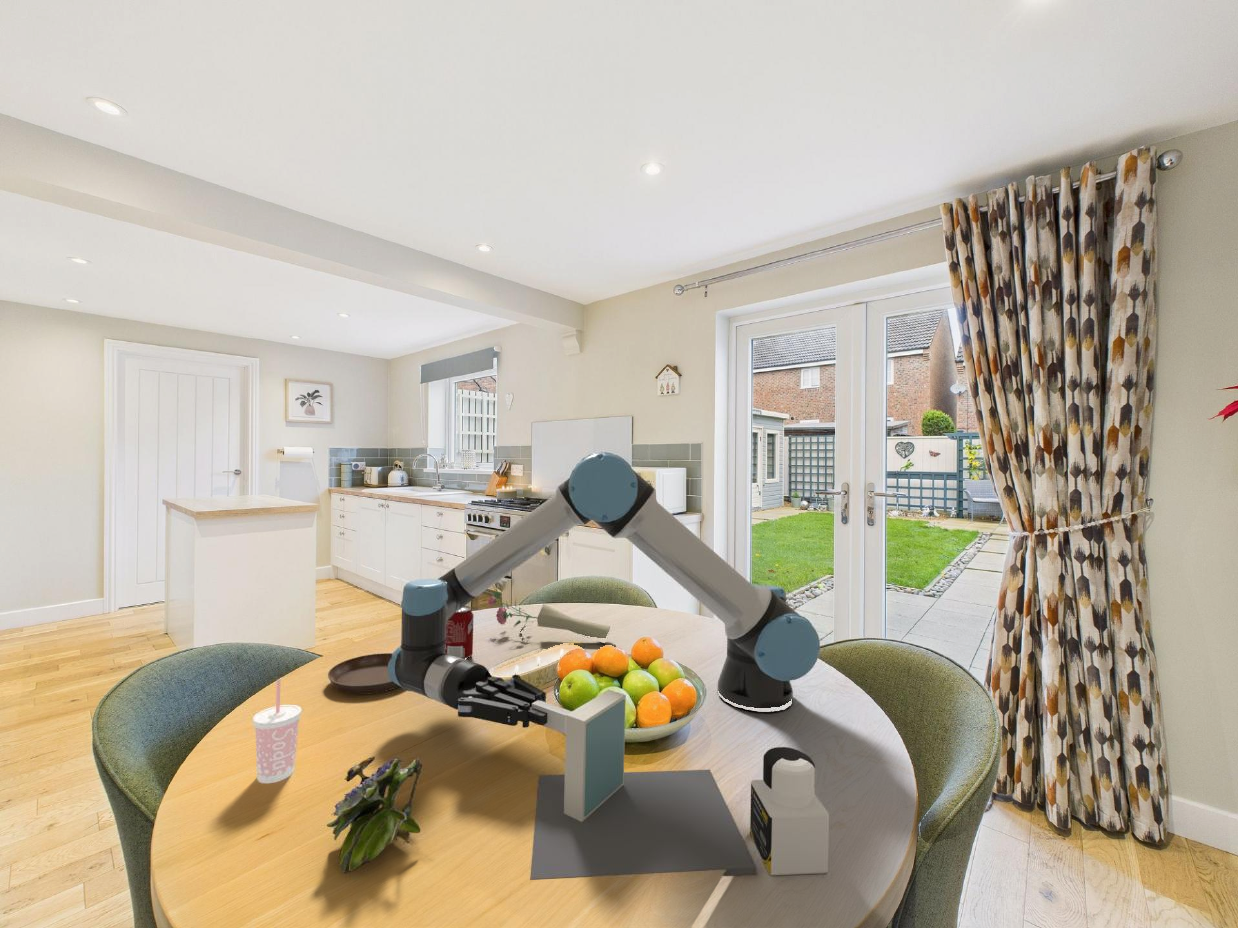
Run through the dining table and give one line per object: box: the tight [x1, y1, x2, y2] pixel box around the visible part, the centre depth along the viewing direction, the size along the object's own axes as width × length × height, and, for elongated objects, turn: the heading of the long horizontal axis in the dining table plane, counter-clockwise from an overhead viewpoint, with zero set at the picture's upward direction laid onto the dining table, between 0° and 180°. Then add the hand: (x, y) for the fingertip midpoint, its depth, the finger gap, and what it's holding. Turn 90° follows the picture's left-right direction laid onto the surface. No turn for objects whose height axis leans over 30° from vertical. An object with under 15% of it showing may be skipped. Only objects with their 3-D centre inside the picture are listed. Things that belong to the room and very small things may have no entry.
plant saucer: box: [327, 652, 400, 695], centre depth 114 cm, size 18×18×3 cm
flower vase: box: [488, 588, 611, 638], centre depth 145 cm, size 12×12×35 cm
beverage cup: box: [252, 678, 303, 784], centre depth 79 cm, size 6×6×14 cm
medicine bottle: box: [749, 746, 830, 876], centre depth 65 cm, size 7×7×12 cm
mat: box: [529, 769, 758, 881], centre depth 70 cm, size 26×20×1 cm
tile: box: [564, 689, 627, 822], centre depth 74 cm, size 3×10×13 cm, turn 147°
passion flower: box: [326, 755, 423, 873], centre depth 66 cm, size 11×11×12 cm
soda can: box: [445, 605, 474, 659], centre depth 128 cm, size 7×7×12 cm
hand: (568, 722), depth 76 cm, fingers closed
